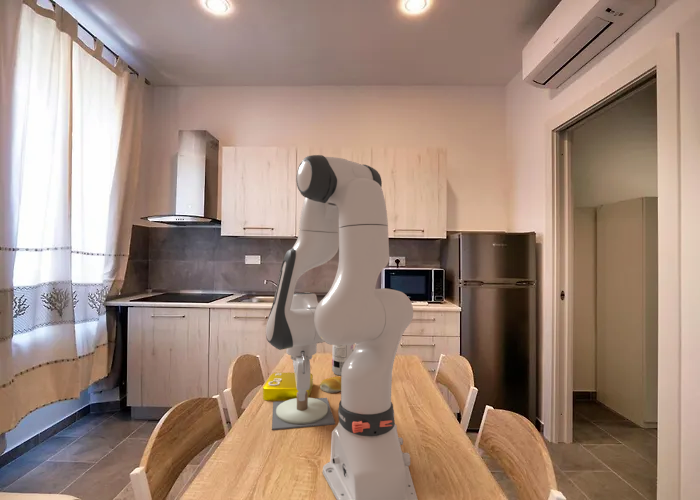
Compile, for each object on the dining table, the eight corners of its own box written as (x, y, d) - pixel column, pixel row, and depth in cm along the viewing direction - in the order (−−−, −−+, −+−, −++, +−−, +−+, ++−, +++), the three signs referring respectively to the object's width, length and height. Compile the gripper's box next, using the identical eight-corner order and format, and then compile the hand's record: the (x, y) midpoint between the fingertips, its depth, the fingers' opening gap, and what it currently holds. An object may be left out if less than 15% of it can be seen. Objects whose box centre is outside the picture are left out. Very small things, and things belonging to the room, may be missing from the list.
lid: (331, 421, 96) (331, 401, 96) (275, 426, 93) (276, 405, 93) (324, 399, 110) (324, 381, 110) (276, 402, 107) (276, 384, 107)
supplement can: (329, 370, 138) (329, 333, 139) (347, 368, 142) (348, 331, 142) (337, 377, 131) (337, 337, 131) (356, 374, 135) (356, 335, 135)
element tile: (308, 402, 110) (308, 387, 110) (261, 401, 110) (261, 386, 110) (313, 384, 125) (313, 371, 125) (272, 384, 125) (272, 370, 125)
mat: (335, 424, 95) (335, 422, 95) (271, 430, 92) (271, 428, 92) (326, 398, 112) (326, 397, 112) (273, 402, 108) (273, 401, 108)
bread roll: (350, 388, 121) (350, 376, 121) (332, 395, 115) (332, 383, 115) (334, 382, 127) (334, 371, 127) (315, 388, 120) (316, 377, 120)
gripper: (316, 357, 93) (314, 408, 93) (309, 337, 113) (308, 379, 113) (292, 358, 91) (291, 410, 91) (289, 337, 111) (288, 380, 111)
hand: (300, 393), depth 102 cm, fingers open, 8 cm apart
